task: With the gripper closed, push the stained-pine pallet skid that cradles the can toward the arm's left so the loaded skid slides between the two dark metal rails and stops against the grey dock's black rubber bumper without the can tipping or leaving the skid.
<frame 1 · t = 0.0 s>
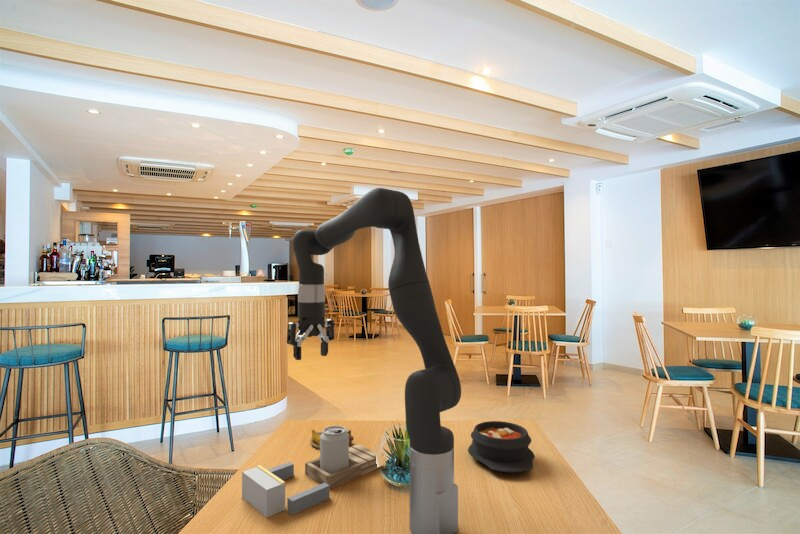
hand: (311, 357, 122), 29 cm above the table, tool pointing down, fingers open, 8 cm apart
pallet: (345, 470, 116), on the table
dock: (283, 495, 103), on the table
can: (334, 475, 114), resting on pallet
toy sandwich meal: (332, 443, 135), on the table
casserole: (500, 459, 124), on the table
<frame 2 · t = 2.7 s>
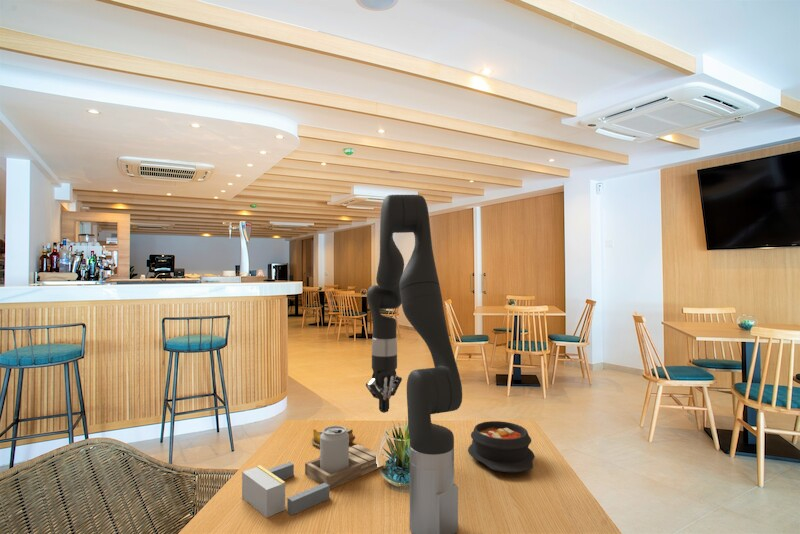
hand: (384, 411, 127), 12 cm above the table, tool pointing down, fingers closed
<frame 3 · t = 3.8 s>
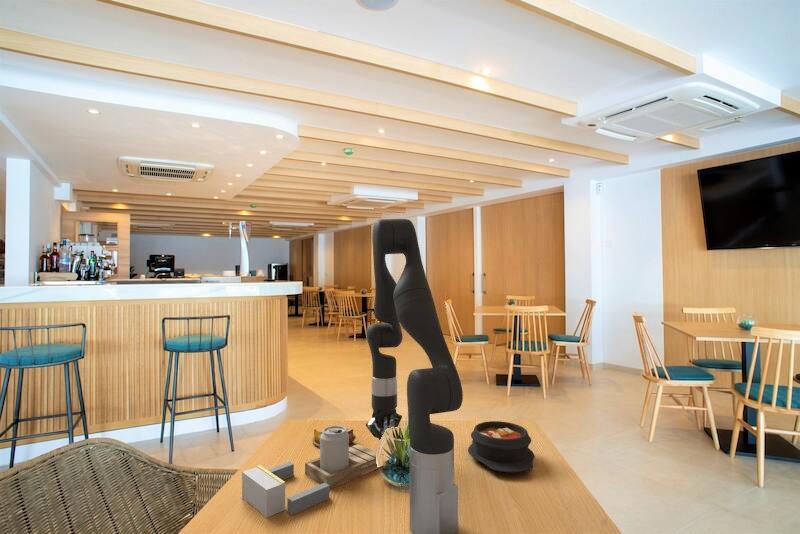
hand: (384, 450, 126), 1 cm above the table, tool pointing down, fingers closed
nothing on the table moved.
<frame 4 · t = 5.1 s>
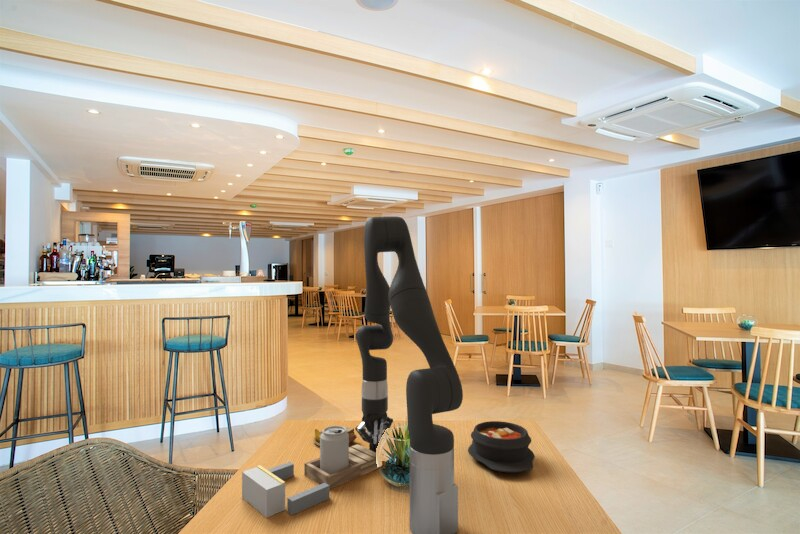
hand: (374, 454, 124), 1 cm above the table, tool pointing down, fingers closed
pallet: (344, 470, 116), on the table, touching gripper
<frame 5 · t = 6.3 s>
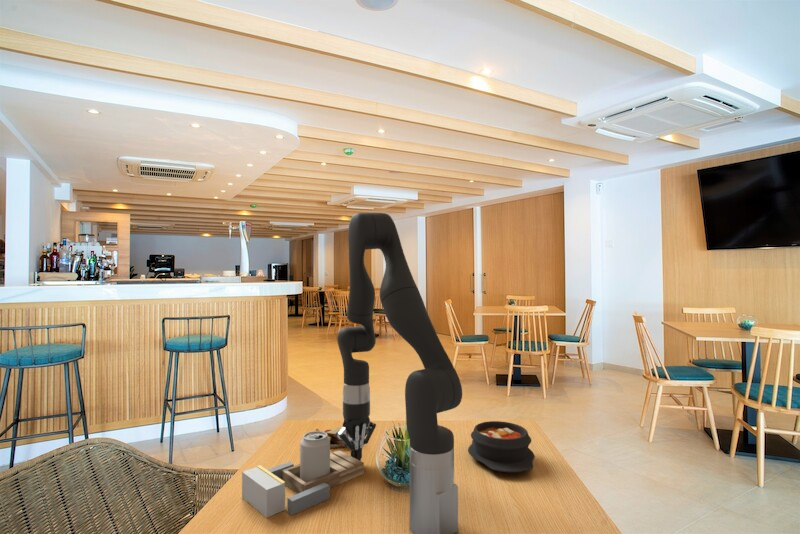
hand: (356, 461, 119), 1 cm above the table, tool pointing down, fingers closed
pallet: (323, 477, 112), on the table, touching can, gripper
can: (315, 482, 110), resting on pallet
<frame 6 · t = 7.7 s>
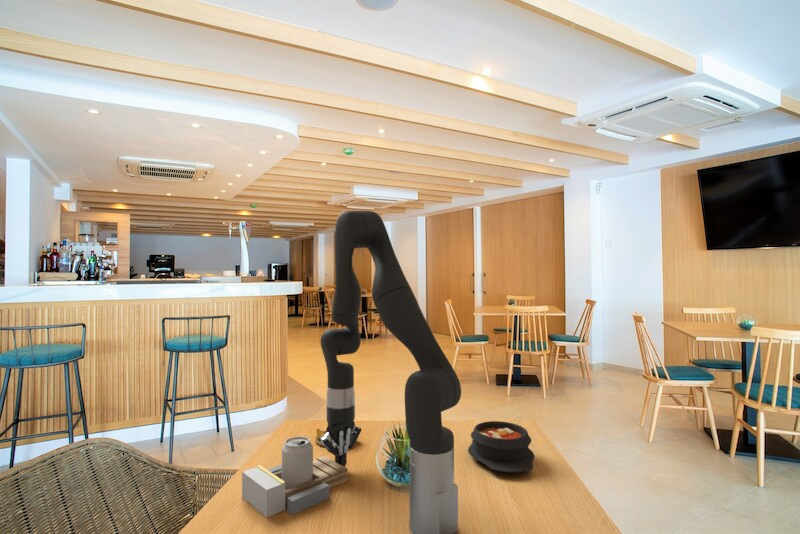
hand: (340, 467, 116), 1 cm above the table, tool pointing down, fingers closed
pallet: (306, 484, 108), on the table, touching can, dock, gripper
can: (297, 489, 106), resting on pallet
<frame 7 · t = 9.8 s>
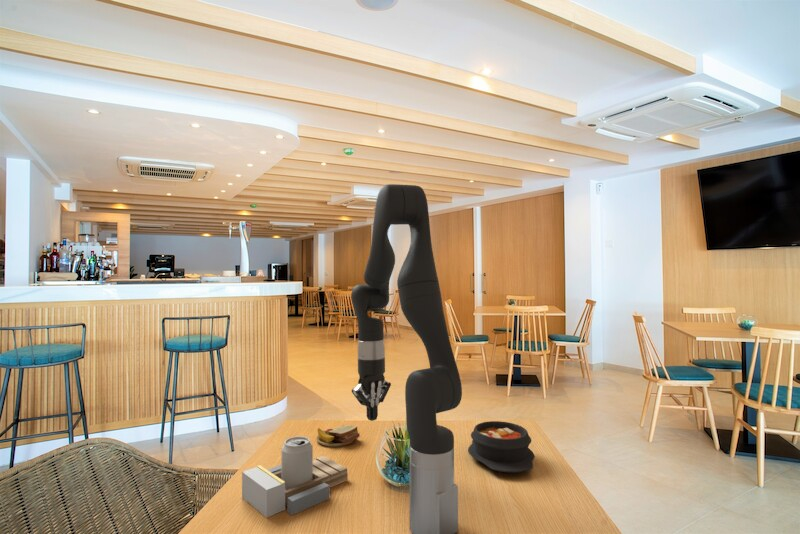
hand: (372, 419, 118), 13 cm above the table, tool pointing down, fingers closed
pallet: (305, 484, 108), on the table, touching dock
can: (296, 490, 106), resting on pallet
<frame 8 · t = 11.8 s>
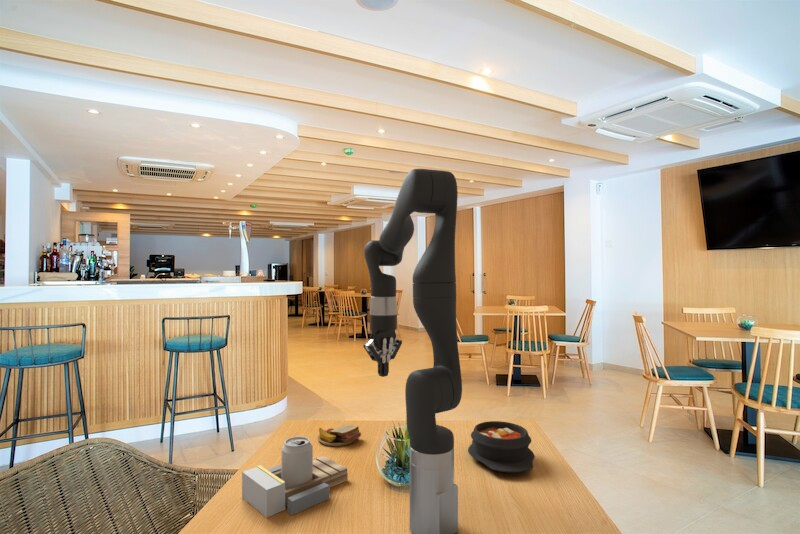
hand: (383, 375, 118), 25 cm above the table, tool pointing down, fingers closed
at the end: pallet 0.8 cm from the target spot, on the table; can 0.8 cm from the target spot on the pallet, point 0.0 cm above the pallet's base; can tilted 0° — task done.
